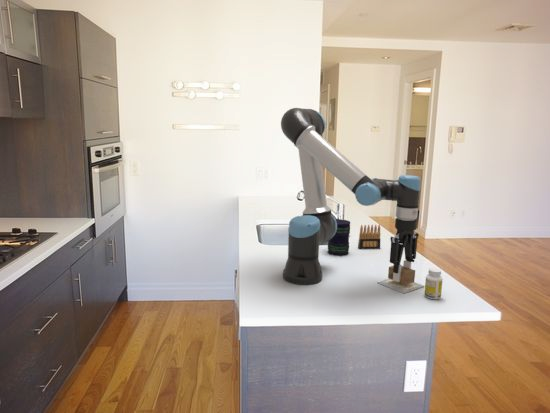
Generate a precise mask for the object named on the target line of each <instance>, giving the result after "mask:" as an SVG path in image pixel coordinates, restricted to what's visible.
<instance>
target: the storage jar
mask: <svg viewBox="0 0 550 413" xmlns="http://www.w3.org/2000/svg"><path fill="white" fill-rule="evenodd" d="M335 220H336V222H337V231H336V233H335V235H334V236H333V237H332V238H331V239H330V240H329V241H328V242H327V254H329V255H331V256H335V257H343V256H344V257H345V256H348V255H349V254H350V253H349V252H350V251H349V250H350V242H349V241H350V234H351V233H350V232H351V221H350V220H348V219H347V220H346V219H341V218H340V219H338V218H337V219H336V218H335Z"/></svg>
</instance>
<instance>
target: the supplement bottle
mask: <svg viewBox="0 0 550 413" xmlns="http://www.w3.org/2000/svg"><path fill="white" fill-rule="evenodd" d="M441 274H442V269H439V268H437V267H436V268H435V267H430V268H428V274H427V275H426V276H425V285H424V286H425V287H424V296H425V297H426V298H427V299H430V300H440V299H441V298H442V288H443V280H444V279H443V277H442V275H441Z"/></svg>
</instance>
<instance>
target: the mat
mask: <svg viewBox="0 0 550 413" xmlns="http://www.w3.org/2000/svg"><path fill="white" fill-rule="evenodd" d="M377 284H379V285H381V286H383V287H386V288H388V289H391V290H393V291H396V292H399V293H402V294H407V293H411V292H414V291H417V290H419V289H422V288H425V285H423V284H422V283H419V282H415V281H414V282H413V283H410V284H407V285H405V284H402V283H399V282H397V281H394V280H391V279H389V278H387V279H384V280H381V281H377Z"/></svg>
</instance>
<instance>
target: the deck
mask: <svg viewBox="0 0 550 413" xmlns="http://www.w3.org/2000/svg"><path fill="white" fill-rule="evenodd" d="M393 266H394V265H391V266H388V274H387V279H391V280H393ZM415 278H416V270H415V269H412V268H411V269H409V268H406V267H403V265H401V276H400V282H399V283H402V284H405V285H407V284H410V283H413V282H415Z"/></svg>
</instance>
